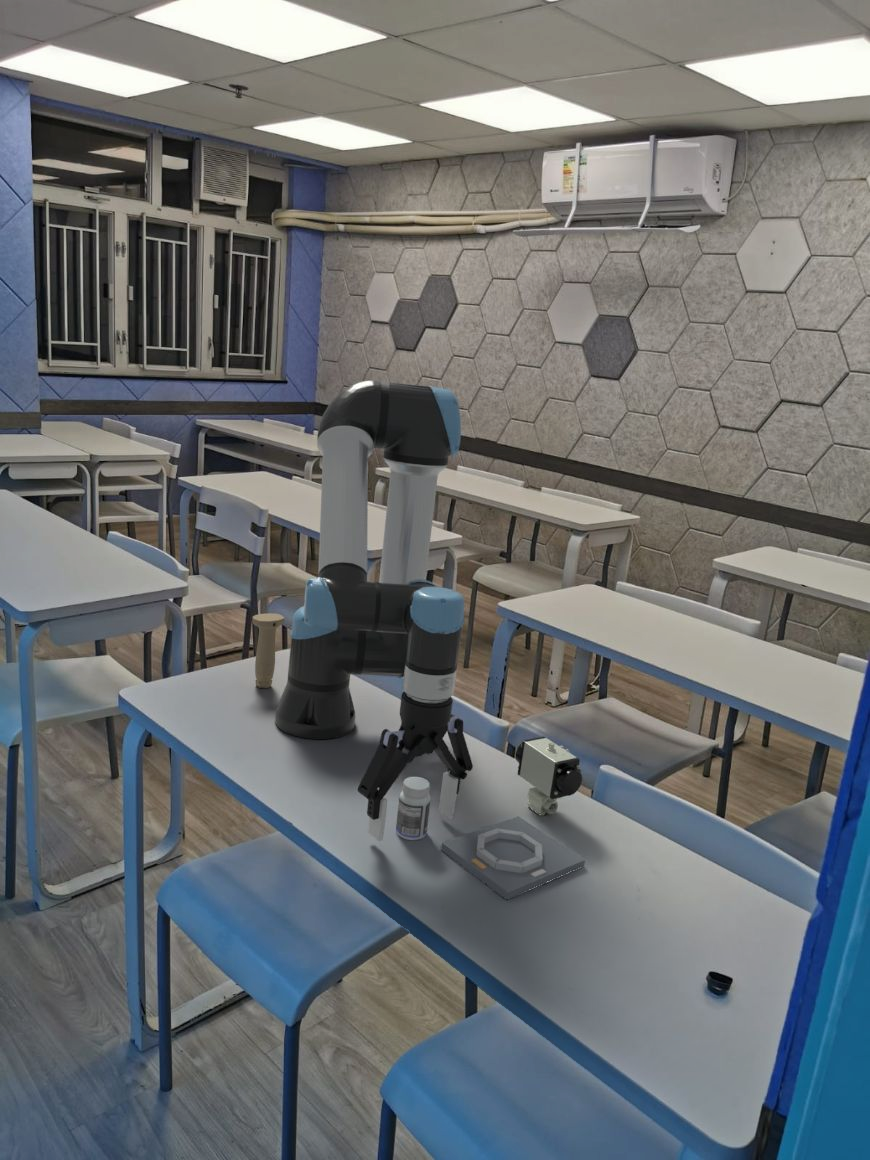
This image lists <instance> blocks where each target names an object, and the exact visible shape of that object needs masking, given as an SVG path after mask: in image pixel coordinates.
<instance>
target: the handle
mask: <svg viewBox="0 0 870 1160" xmlns="http://www.w3.org/2000/svg"><path fill="white" fill-rule="evenodd" d="M284 622H285V616H283V615H282V614H280V613H271V612H269V613H259V614H255V615H253V616H252V624H253V625H254V626H255V627H258V636H257V637H258V639H257V648H256V654H255V665H254V666H255V667H254V671H255V686H256V687H258V688H259V689H268V688H270V687H271V686H272V685H273V678H274V673H275V666H276V636H277V635H276V634H277V633H276V632H277V628H279V627H280V626H282V625H283V624H284Z"/></svg>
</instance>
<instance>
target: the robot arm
mask: <svg viewBox="0 0 870 1160" xmlns="http://www.w3.org/2000/svg"><path fill="white" fill-rule="evenodd" d="M457 398H458V397H456V395H455V393H453V391H451V390H449V389H446V388H442V387H436V386H432V385H420V384H411V383H409V384H408V383H398V382H390V381H381V380H376V379H368V380H363V381H358V382H356V383H354V384H351V385H349V386H347V387H346V388H344V389H343V390H342V391H340V392H339V394H337V395H336V396H335V398H333V400H332V401H331V402H330V403H329V405H328V406H327V408H326V409H325V411H324V413H323V414H322V416H321V418H320V422H319V423H318V424H319V425H318V428H317V436H316V437H317V439H316V440H317V441H316V442H317V443H316V444H317V445H316V446H317V451H318V453H320V455H321V456H322V468H321V469H322V471H321V491H320V492H321V496H320V497H321V498H320V518H319V519H320V520H319V522H320V523H319V525H320V526H319V545H318V546H319V552H318V576H317V577H310V578H308V579H307V580H306V583H305V589H304V602H303V606H300V608H297V610H296V611H295V612H294V614H293V617H292V622H291V623H292V625H291V630H290V631H289V637H290V638H291V639H290V648H289V657H288V658H289V660H288V670H287V671H288V672H287V682H286V686H285V687H284V688H283V689H284V690H283V692H282V694H281V696H280V699H279V701H278V704H277V705H276V708H275V714H274V715H275V717H274V723H275V725H276V726H277V727H278V728H279V730H281V731H282V732H285V733H287V734H289V735H291V736H294V737H298V738H303V739H311V740H312V739H313V740H328V739H335V738H340V737H343V736H346V735H347V734H350V732H352V731H353V730H354V728H355V725H356V711H355V707H354V702H353V697H352V694H351V689H350V681H351V675H354V676H355V675H356V676H357V675H360V676H375V677H376V676H377V677H391V678H392V677H393V678H394V677H395V678H400V679H402V678H403V679H402V687H401V689H402V690H403V691H402V693H401V697H400V698H401V699H400V707H399V716H400V721H401V724H400V727H399V728H398V730H396V731H395V730H394V731H392V730H391V731H390V730H389V729H387V728H384V729H383V730H382V732H381V736H380V739H379V743H378V746H377V748H376V750H375V752H374V754H373V756H372V758H371V759H370V760H371V761H370V762H369V764H368V766H367V769H366V771H365V772H364V775H363V777H362V778H361V780H360V782H359V785H358V786H357V788H356V790H357V793H359V794H360V795H361V796H363V797H364V798H366V799H367V807H366V808H367V810H366V814H367V816H368V818H369V822H368V829H367V830H368V831H367V833H368V834H370V836H372V837H373V838H374V839H375V840H377V841H378V842H381V841H384V837H385V836H384V835H385V833H384V832H385V825H386V818H387V809H388V798H386V797H385V796H386V795H387V793H388V792H389V790H390V789H391V788H392V786H393V784H394V783H395V782H396V780H397V779H398V778H399V776H400V775H401V774H402V772H403V770H404V769H405V768H406V767H407V765H408V764H411V763H412V762H413V761H414V760H415V758H419V757H421V756H423V755H430V754H434V753H435V754H436V755H437V756H438V758H439V759H440V761H441V762H442V763H443V765H444V766H445V768H446V769H447V770H448V771H445V772H443V773H442V780H441V781H442V782H441V788H440V789H441V790H440V796H439V805H438V811H439V812H441V814H443V815H444V816H446V817H447V818H448V819H451V818H454V813H455V808H456V801H457V800H456V798H457V795H458V794H459V793H460V788H461V787H460V785H461V780H465V779H467V776H468V773H467V772H471V771H472V770H473V767H474V765H473V762H472V757H471V754H470V752H469V748H468V745H467V742H466V738H465V736H464V720H463V719H460V718H459V717H457V716H455V714H452V711H453V703H454V702H453V701H454V700H453V698H452V697H453V695H454V693H455V685H456V677H457V668H458V663H459V655H460V646H461V641H462V639H461V638H462V632H463V625H464V623H465V618H466V616H465V597H464V596H463V595H462V593H460V592H458V591H455V590H454V589H452V588H451V589H450V588H448V587H447V588H446V587H442V586H437V585H436V584H435V583H434V582H432V581H430V580H427V579H426V578H427V572H428V562H429V554H430V545H431V539H432V538H431V537H432V529H433V528H432V527H433V520H434V512H435V503H436V502H435V501H436V495H437V484H438V477H439V474H440V473H441V472H442V471H443V470H445V469H446V468H447V467H448V464H449V457H450V458H452V457H455V456H457V455H458V453H459V449H460V444H461V439H462V438H461V437H462V433H461V432H462V429H461V428H462V423H461V422H462V421H461V412H460V410H461V409H460V406H459V402H458V399H457ZM374 449H379V450H380V449H381V450H383V456H382V457H383V458H382V459H383V461H384V462H385V463H386V464H387V466H388V468H389V470H390V475H389V482H388V483H389V484H388V494H387V502H386V503H387V504H386V514H385V523H384V533H383V542H382V543H383V544H382V551H381V552H382V553H381V562H380V571H379V579H378V580H379V581H378V582H376V581H375V582H374V581H368V511H369V510H368V503H369V502H368V500H369V499H368V494H369V493H368V492H369V491H368V490H369V489H368V486H369V483H368V481H369V479H368V475H369V473H368V471H369V457H370V456H371V455H372V454H373V452H374ZM446 734H447V735H448V739H449V742H450V745H451V748H452V749H451V750H452V752H453V754H452V752H451V751H450V749H449V746H448V745H447V743H446V742H445V740H444V738H445V735H446ZM403 750H405V751H406V752H407V753H405V752H403Z"/></svg>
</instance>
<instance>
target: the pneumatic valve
mask: <svg viewBox="0 0 870 1160" xmlns="http://www.w3.org/2000/svg"><path fill="white" fill-rule="evenodd" d="M515 760H516V762H517V763H518V766H517V775H518V776H519V777H521V778H522V779H523V780H525V781H526V782H528V783H529V784H531V785H532V787H530V788H529V790H528V792H527V799H528V801H527V803H526V805H527V807H528V808H529V807H530V808H532V809H533V810H534V811H536V812H537V813H538V814H541V815H546V814H545V813H548V814H547V815H554V814H555V813H556V812H557V811H558V808H559V804H558V802H557V800H558V799H560V798H564V797H570V796H573V795H574V794H576V793H577V791H578V790H579V789H580V787H581V785H582V783H583V775H582V772H581V769H580V761H581V759H580V758H578V757H577V756H575V755H574V754H572V753H571V752H570V750H569V749H568V748H565V747H564V746H563V745H558V744H557V743H555V742H553V741H552V740H550V739H548V738H547V737H545V736H540V737H533V738H529V739H524V740H522V741H521V743H520V744H519V745H518V747H517V749H516V751H515ZM530 808H529V809H530ZM532 809H531V810H532ZM533 810H532V811H533ZM534 811H533V812H534ZM536 812H535V813H536ZM537 813H536V814H537Z"/></svg>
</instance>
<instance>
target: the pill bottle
mask: <svg viewBox="0 0 870 1160" xmlns="http://www.w3.org/2000/svg"><path fill="white" fill-rule="evenodd" d="M402 783H403V784H402V791H401V792H400V793H399V796H398V806H397V807H398V808H397V815H396V823H395V824H396V825H395V826H396V827H395V833H396V834H397V835H398V837H400V838H403V839H404V840H408V841H418V840H421V839H423V838H424V837H426V835H427V831H428V824H429V818H430V817H429V816H430V807H431V795H430V788H431V786H430V785H431V784H430V781H428V780H427V779H426V778H424V777H420V776H408V777H407V778H405V779H404V780H403V782H402Z"/></svg>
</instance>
